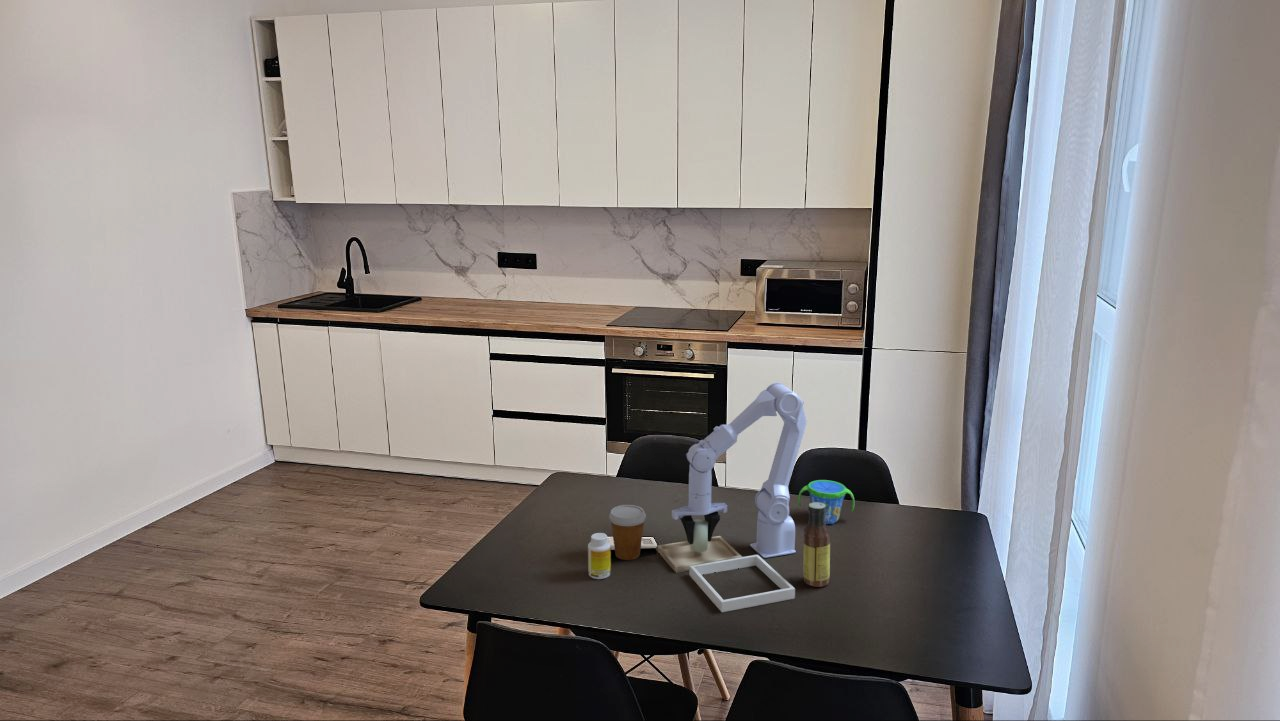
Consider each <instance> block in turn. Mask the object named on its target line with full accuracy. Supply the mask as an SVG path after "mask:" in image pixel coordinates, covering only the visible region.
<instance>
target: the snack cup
mask: <svg viewBox="0 0 1280 721" xmlns="http://www.w3.org/2000/svg"><path fill="white" fill-rule="evenodd" d="M806 491H808V492H809V504H810V503H813V502H819V503H823V504H825V506H826V511H825V524H826V525H834V524H835V523H837V522H838V521H839V519H840V515H841V512H842V508H843V503H844V499H845V497H846V494H849V495H850V497H851V500H852V501H851V502H852V503H851V508H850V511H851V512H854V509H855V505H856V504H855V503H856V502H855V497H854V494H853V492H852V491H851V490H850V489H848V488H847V487H846V486H845V485H844V484H843V483H841V482H838V481H834V480H827V479H818V480H817V479H816V480H813V481H810V482H809V483H808V484H807V485H805V486H803V487H802V488H801V489H800V491H799V493H798V496H797V502H798V508H801V507H802V506H801V499H802V493H804V492H806Z"/></svg>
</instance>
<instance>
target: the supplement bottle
mask: <svg viewBox="0 0 1280 721" xmlns="http://www.w3.org/2000/svg"><path fill="white" fill-rule="evenodd" d="M611 545H612V544H611V542H609V541H608V535H607V534H606V533H604V532H596V533H593V534H592V535H591V536H590V542H589V543H588V544H587V569H588V570H587V571H588V572H587V574H588V576H589V577H590V578H592V579H594V580H603V579H607V578H608V577H610V576H611V573H612V568H611V567H612V558H611V557H612V555H611V554H612V551H611Z"/></svg>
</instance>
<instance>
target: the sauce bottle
mask: <svg viewBox="0 0 1280 721" xmlns="http://www.w3.org/2000/svg"><path fill="white" fill-rule="evenodd" d="M807 510H808V523H807V524H806V525H805V527H804V529H803V552H802V553H803V556H802V557H803V562H802V563H803V565H802V568H803V569H802V571H803V573H802V575H803V580H804V583H805V584H806V585H808V586H810V587H814V588H821V587H822V588H823V587H825V586H828V584H829V582H830V576H831V574H830V573H831V563H830V562H831V540H830V539H831V538H830V534H831V533H830V531H829V528H828V526H827V524H825V511H826V506H825V504H823V503H819V502H813V503H810V502H809V504H808V509H807Z"/></svg>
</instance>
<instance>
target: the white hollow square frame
mask: <svg viewBox="0 0 1280 721" xmlns="http://www.w3.org/2000/svg"><path fill="white" fill-rule="evenodd" d="M755 566H756V567H757V568H758V569H759V570H760V571H761V572H762V573H763V574H765V576H767V578H769V579H770V580H771V581H772V582H773V583H774V584H775V585H776V586H777V587H778V588H780V589H775V590H771V591H765V592H760V593H754V594H749V595H744V596H739V597H733V598H727V599H723V598H722V596H721V595H720V594H719V593H718V592H717V591H716V590H715V588H714V587H713V586H712V585H711V584H710V583H709V582H708V581H707V580H706V578H705V577H704V575H708V574H715V573H714V572H716V573H719V572H726V571H733V570H738V568H739V569H743V568H749V567H755ZM703 574H704V575H703ZM689 577H690V578H691V579H692V580H693V582H695V583H696V585H697V586H698V587H699V589H700V590H702V591H703V593H704V594H705V595H706V596H707V597H708V598H709V600H710V601H711V602H712V604H714V605H715V606H716V607H717V609H718V610H719V611H720V612H721V613H726V612H731V611H736V610H743V609H746V608H752V607H757V606H763V605H767V604H773V603H778V602H782V601H788V600H789V601H790V600H794V599H795V598H796V588H795V587H794V586H793V585H792V584H791V583H789V581H787V580H786V579H785V578H784V577H783V576H782V575H781V574H780V573H779V572H777V570H775V569H774V568H773V566H771V565H770V564H768V563H767V561H766V560H765V559H764V558H763V557H762V556H761V555H760V554H753V555H747V556H746V555H745V556H742V557H740V558H734V559H728V560H722V561H716V562H710V563H704V564H698V565H692V566H690V571H689Z"/></svg>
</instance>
